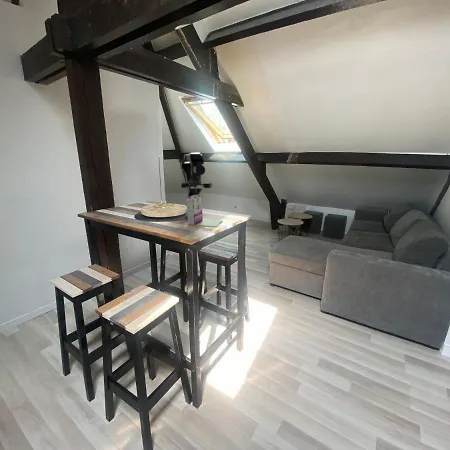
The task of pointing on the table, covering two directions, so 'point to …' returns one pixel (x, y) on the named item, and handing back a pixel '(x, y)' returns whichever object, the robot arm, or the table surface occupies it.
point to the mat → (209, 223)
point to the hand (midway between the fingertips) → (197, 198)
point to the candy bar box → (194, 209)
